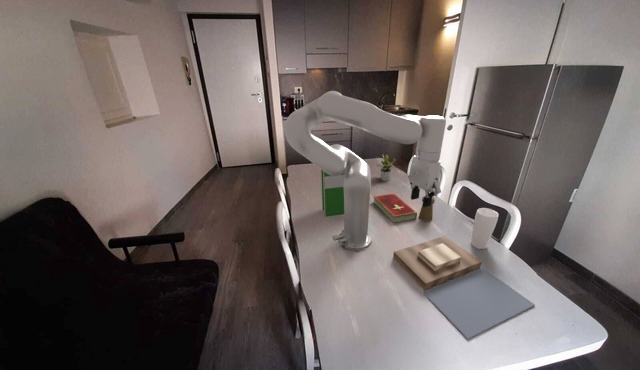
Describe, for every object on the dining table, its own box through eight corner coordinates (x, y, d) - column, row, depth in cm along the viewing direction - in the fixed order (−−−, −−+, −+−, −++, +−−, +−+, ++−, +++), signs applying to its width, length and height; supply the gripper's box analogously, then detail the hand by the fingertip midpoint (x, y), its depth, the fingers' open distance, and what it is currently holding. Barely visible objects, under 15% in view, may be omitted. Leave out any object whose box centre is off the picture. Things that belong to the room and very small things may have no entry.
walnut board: (424, 290, 78) (425, 283, 76) (393, 258, 91) (393, 251, 90) (479, 268, 85) (481, 261, 84) (443, 242, 99) (444, 235, 97)
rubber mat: (467, 339, 63) (467, 338, 63) (422, 292, 77) (423, 291, 77) (534, 305, 71) (534, 304, 71) (483, 268, 85) (483, 267, 85)
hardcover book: (393, 199, 133) (394, 192, 132) (416, 219, 115) (417, 211, 113) (372, 202, 131) (373, 195, 129) (393, 223, 112) (393, 216, 111)
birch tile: (434, 270, 81) (435, 266, 80) (417, 255, 88) (418, 251, 87) (460, 261, 84) (461, 256, 84) (441, 247, 91) (442, 243, 90)
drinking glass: (481, 239, 99) (490, 207, 93) (492, 250, 93) (503, 216, 87) (464, 240, 99) (473, 208, 93) (475, 251, 93) (484, 217, 87)
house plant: (368, 176, 163) (369, 152, 156) (387, 173, 166) (389, 149, 159) (379, 184, 150) (381, 159, 143) (399, 181, 154) (402, 156, 147)
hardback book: (325, 216, 119) (324, 170, 109) (322, 209, 126) (320, 164, 116) (360, 212, 122) (362, 166, 112) (355, 205, 128) (356, 161, 118)
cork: (423, 222, 112) (427, 200, 107) (415, 215, 117) (418, 194, 113) (435, 219, 113) (439, 198, 109) (426, 213, 119) (430, 192, 114)
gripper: (401, 149, 88) (397, 194, 96) (438, 164, 73) (429, 216, 81) (418, 146, 90) (412, 191, 98) (457, 160, 76) (447, 211, 83)
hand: (420, 202), depth 89 cm, fingers open, 5 cm apart
